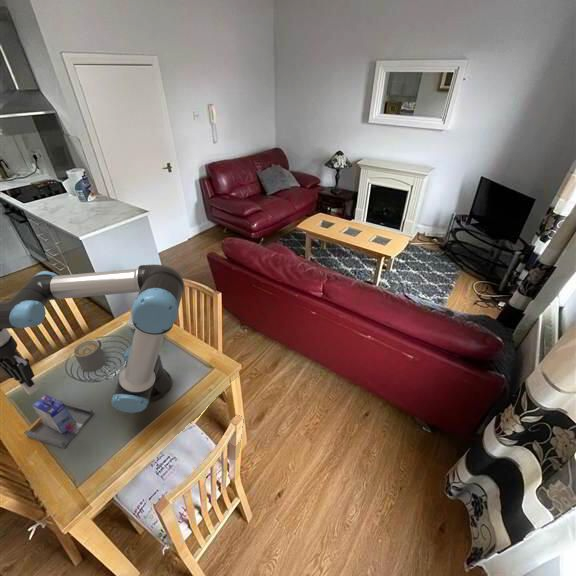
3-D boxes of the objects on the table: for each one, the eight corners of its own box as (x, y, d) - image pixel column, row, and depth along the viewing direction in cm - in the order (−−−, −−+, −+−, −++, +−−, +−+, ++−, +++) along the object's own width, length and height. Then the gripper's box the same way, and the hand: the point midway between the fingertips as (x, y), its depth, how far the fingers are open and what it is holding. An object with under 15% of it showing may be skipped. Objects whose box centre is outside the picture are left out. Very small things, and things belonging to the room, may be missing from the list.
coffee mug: (96, 373, 135) (88, 358, 129) (76, 369, 136) (67, 354, 130) (115, 351, 145) (108, 336, 140) (96, 348, 147) (89, 333, 141)
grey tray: (94, 413, 119) (91, 409, 117) (64, 448, 108) (60, 444, 106) (60, 404, 122) (57, 399, 120) (27, 437, 111) (24, 432, 109)
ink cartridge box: (77, 422, 115) (61, 399, 106) (63, 435, 111) (46, 412, 102) (59, 412, 118) (42, 389, 109) (45, 424, 114) (26, 401, 105)
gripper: (25, 337, 92) (58, 385, 105) (-9, 329, 94) (27, 378, 108) (1, 355, 86) (38, 404, 99) (-35, 346, 88) (6, 396, 102)
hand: (32, 390), depth 104 cm, fingers closed
